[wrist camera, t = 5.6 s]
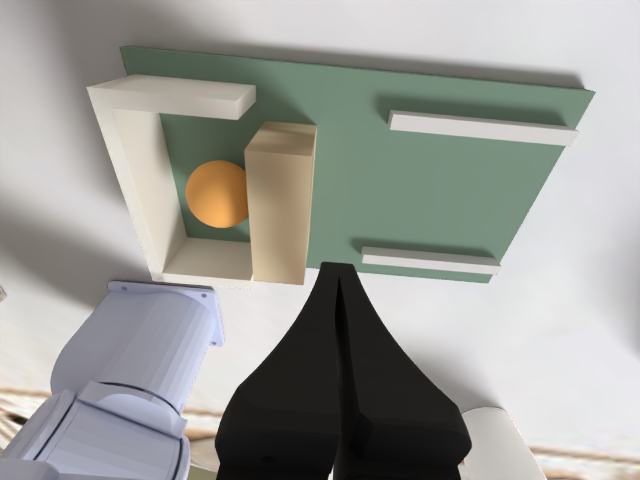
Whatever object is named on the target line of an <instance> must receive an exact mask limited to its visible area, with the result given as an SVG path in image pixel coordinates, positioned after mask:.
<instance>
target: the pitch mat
mask: <svg viewBox="0 0 640 480" xmlns="http://www.w3.org/2000/svg"><path fill="white" fill-rule="evenodd" d="M120 51H121V54H122V58H123V62H124V66H125V70H126V73H127V76H130V75H134V74H140V75H151V76H161V77H172V78H183V79H193V80H204V81H215V82H226V83H236V84H247V85H256V102H255V103H254V104H253V105H252V106H251V107H250V108H249V109H248V110H247V111H246V112H245V113H244V114H243V115H242V116H241V117H240V118H239V119H238V120H232V119H221V118H210V117H199V116H188V115H177V114H166V113H159V115H160V119H161V124H162V128H163V133H164V137H165V142H166V146H167V151H168V155H169V159H170V164H171V168H172V173H173V177H174V182H175V186H176V190H177V195H178V199H179V204H180V208H181V213H182V217H183V222H184V226H185V230H186V235H187V237H190V238H202V239H213V240H224V241H236V242H247V243H251V238H250V224H249V216H248V217H247V218H246V219H245V220H244V221H242V222H241V223H239V224H237V225H235V226H232V227H228V228H217V227H212V226H209V225H207V224H205V223H203V222H201V221H200V220H199V219H198V218H196V217H195V215H194V214H193V213H192V212H191V210H190V208H189V206H188V204H187V200H186V185H187V182H188V179H189V177H190V175H191V174H192V173H193V172H194V170H196V169H197V168H198V167H199V166H201V165H202V164H205V163H207V162H210V161H217V160H222V161H228V162H231V163H234V164H236V165H238V166H239V167H241V168H242V169H243V170H245V171H246V169H245V155H244V150H245V148H246V147H247V146H248V144H249V143H250V141H251V140H252V139H253V137H254V136H255V134H256V133H257V132H258V130H259V129H260V127H261V126H262V125H263V123H264V122H265V121H276V122H287V123H298V124H309V125H317V134H316V148H315V162H314V177H313V191H312V206H311V220H310V234H309V244H308V252H307V260H306V268H316V269H320V265H321V263H322V262H323V261H325V262H337V263H348V264H353V265H354V266H355V269H356V272H362V273H374V274H385V275H397V276H408V277H420V278H431V279H443V280H454V281H466V282H477V283H489V281H490V279H491V277H492V275H497V274H498V272H499V270H500V268H501V265H500V264H499V263H500V261H501V260H502V258H503V256H504V254H505V252H506V251H507V249H508V247H509V245H510V244H511V242H512V240H513V238H514V236H515V235H516V233H517V231H518V229H519V228H520V226H521V224H522V222H523V220H524V219H525V217H526V215H527V213H528V212H529V210H530V208H531V206H532V205H533V203H534V201H535V199H536V197H537V196H538V194H539V192H540V190H541V189H542V187H543V185H544V183H545V181H546V180H547V178H548V176H549V174H550V173H551V171H552V169H553V167H554V165H555V164H556V162H557V160H558V158H559V157H560V155H561V153H562V151H563V149H564V148H565V146H571V145H572V143H573V141H574V139H575V138H576V136H577V134H578V132H579V131H577V130H575V128H576V126H577V125H578V123H579V121H580V119H581V118H582V116H583V114H584V112H585V110H586V109H587V107H588V105H589V103H590V102H591V100H592V98H593V96H594V94H595V93H596V92H594V91H591V90H587V89H578V88H568V87H557V86H547V85H536V84H525V83H515V82H504V81H494V80H483V79H472V78H462V77H451V76H441V75H430V74H419V73H409V72H398V71H388V70H377V69H366V68H356V67H345V66H335V65H324V64H313V63H303V62H292V61H282V60H271V59H260V58H250V57H239V56H229V55H218V54H207V53H197V52H186V51H176V50H165V49H154V48H144V47H133V46H124V47H120Z"/></svg>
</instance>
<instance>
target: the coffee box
mask: <svg viewBox="0 0 640 480" xmlns="http://www.w3.org/2000/svg"><path fill="white" fill-rule="evenodd" d="M5 298H6V294H5V293H4V291H3V290H2V288H1V287H0V302H1V301H3V300H4V299H5Z"/></svg>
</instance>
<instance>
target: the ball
mask: <svg viewBox="0 0 640 480" xmlns="http://www.w3.org/2000/svg"><path fill="white" fill-rule="evenodd" d="M186 200H187V204H188V206H189V208H190V210H191V212H192V213H193V214H194V215H195V217H196V218H198V219H199V220H200V221H201V222H203V223H205V224H207V225H209V226H212V227H217V228H228V227H232V226H235V225H237V224H239V223H241V222H242V221H244V220H245V219H246V218H247V217H248V216H249V211H248V197H247V183H246V171H245V170H243V169H242V168H241V167H239V166H238V165H236V164H234V163H231V162H228V161H222V160H217V161H210V162H207V163H205V164H202V165H201V166H199V167H198V168H197V169H196V170H194V172H193V173H192V174H191V175H190V177H189V179H188V182H187V185H186Z"/></svg>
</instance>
